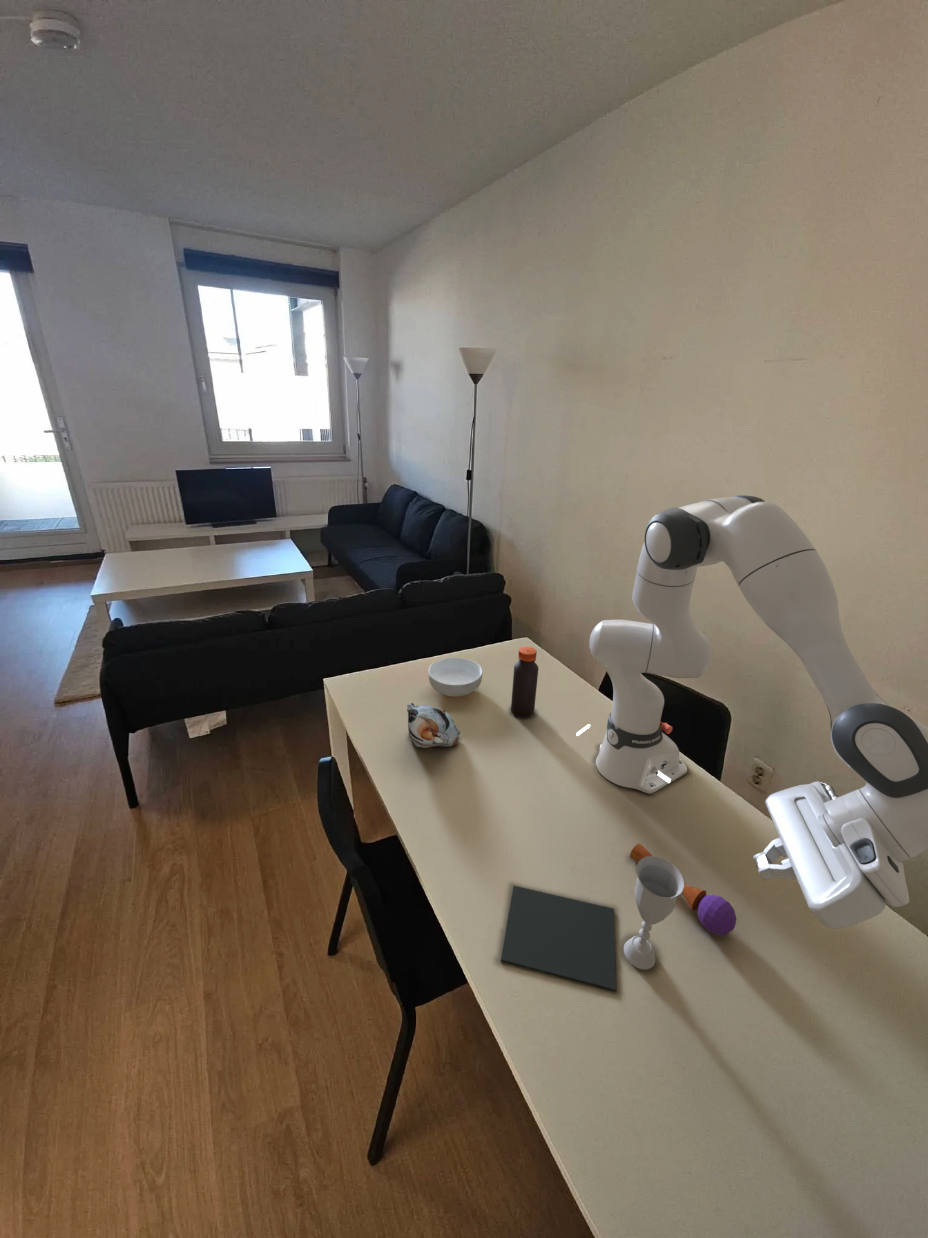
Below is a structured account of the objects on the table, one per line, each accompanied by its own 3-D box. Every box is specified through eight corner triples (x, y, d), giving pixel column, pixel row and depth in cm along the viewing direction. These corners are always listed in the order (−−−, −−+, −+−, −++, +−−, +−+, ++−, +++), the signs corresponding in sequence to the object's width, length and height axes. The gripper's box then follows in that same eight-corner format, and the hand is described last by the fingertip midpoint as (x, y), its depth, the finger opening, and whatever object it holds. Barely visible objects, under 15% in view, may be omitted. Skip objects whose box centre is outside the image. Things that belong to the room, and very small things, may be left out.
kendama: (648, 834, 101) (747, 907, 85) (641, 859, 103) (737, 935, 87) (629, 842, 98) (728, 919, 82) (622, 868, 99) (718, 949, 84)
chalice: (664, 981, 79) (688, 902, 72) (619, 971, 81) (639, 892, 73) (657, 937, 86) (679, 860, 79) (616, 928, 87) (633, 852, 80)
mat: (613, 910, 90) (613, 908, 90) (615, 991, 78) (616, 990, 78) (513, 887, 94) (513, 885, 94) (500, 961, 81) (500, 959, 81)
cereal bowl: (426, 676, 164) (427, 657, 161) (477, 675, 166) (478, 656, 163) (429, 705, 148) (429, 685, 146) (485, 703, 150) (486, 683, 148)
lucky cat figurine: (469, 740, 134) (464, 716, 123) (433, 770, 130) (424, 747, 119) (435, 703, 142) (427, 677, 131) (400, 730, 138) (389, 705, 127)
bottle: (538, 711, 147) (544, 650, 139) (525, 721, 143) (531, 658, 135) (519, 702, 152) (524, 642, 144) (506, 711, 147) (510, 650, 139)
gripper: (815, 763, 74) (728, 801, 80) (886, 880, 56) (766, 918, 62) (839, 792, 75) (751, 828, 81) (917, 917, 57) (796, 951, 63)
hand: (758, 868), depth 71 cm, fingers closed
